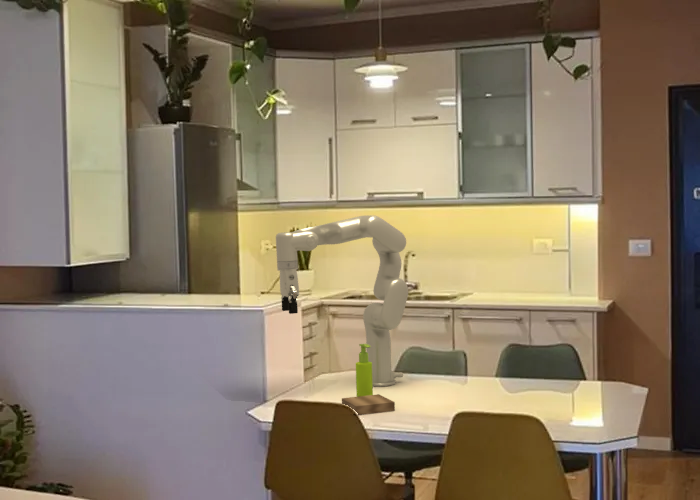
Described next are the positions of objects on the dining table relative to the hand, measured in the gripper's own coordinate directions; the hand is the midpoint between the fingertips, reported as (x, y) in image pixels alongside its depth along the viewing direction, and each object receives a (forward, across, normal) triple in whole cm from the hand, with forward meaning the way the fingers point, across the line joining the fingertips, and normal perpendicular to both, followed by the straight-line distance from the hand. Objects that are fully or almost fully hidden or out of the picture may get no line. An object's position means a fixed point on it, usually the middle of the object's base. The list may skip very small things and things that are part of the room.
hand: (289, 312), depth 331 cm
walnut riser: (+32, -32, -18) cm, 48 cm away
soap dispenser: (+32, -17, -22) cm, 42 cm away
